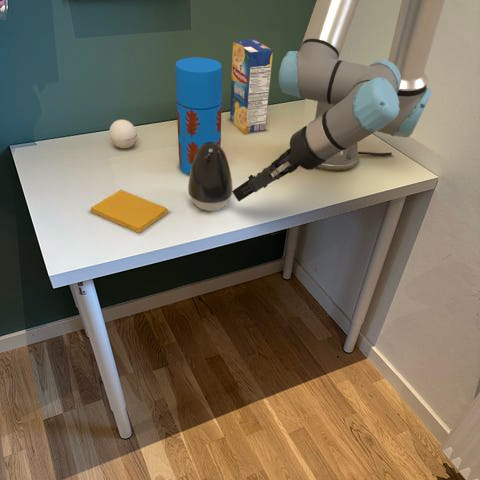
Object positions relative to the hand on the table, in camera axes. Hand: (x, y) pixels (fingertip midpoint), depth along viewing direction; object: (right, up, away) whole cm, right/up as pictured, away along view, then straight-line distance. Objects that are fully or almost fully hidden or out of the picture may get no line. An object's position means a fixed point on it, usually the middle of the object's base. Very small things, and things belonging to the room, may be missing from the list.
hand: (237, 195), depth 105 cm
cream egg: (-30, +20, +26) cm, 45 cm away
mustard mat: (-25, -3, +2) cm, 25 cm away
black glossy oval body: (-6, -1, +6) cm, 9 cm away
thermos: (-10, +12, +19) cm, 25 cm away
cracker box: (+3, +32, +40) cm, 52 cm away
